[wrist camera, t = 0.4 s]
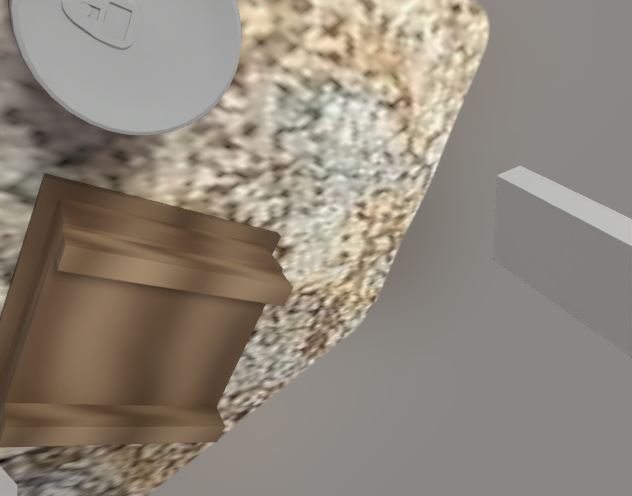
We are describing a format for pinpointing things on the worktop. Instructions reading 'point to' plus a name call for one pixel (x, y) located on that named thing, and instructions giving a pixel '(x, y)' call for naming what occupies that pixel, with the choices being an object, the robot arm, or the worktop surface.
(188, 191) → the worktop surface
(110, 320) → the brown square tray
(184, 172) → the worktop surface
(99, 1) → the canned food
